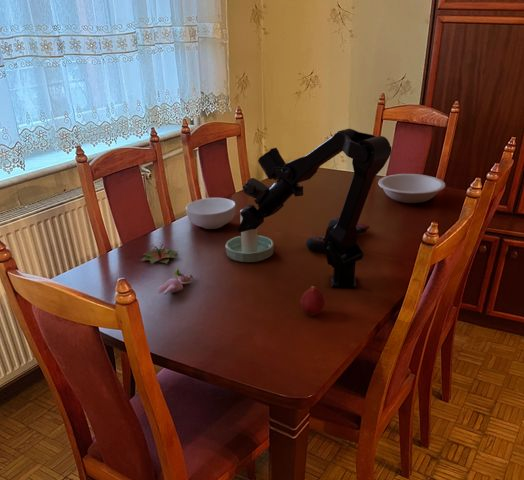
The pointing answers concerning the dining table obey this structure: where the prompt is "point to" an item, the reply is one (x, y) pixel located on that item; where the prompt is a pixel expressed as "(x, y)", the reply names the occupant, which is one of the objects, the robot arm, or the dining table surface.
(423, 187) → the soup bowl
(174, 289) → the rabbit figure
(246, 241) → the candle
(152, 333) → the dining table surface
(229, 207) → the cereal bowl
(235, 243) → the candle dish
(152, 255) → the lily flower
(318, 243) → the toy motorcycle
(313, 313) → the onion
